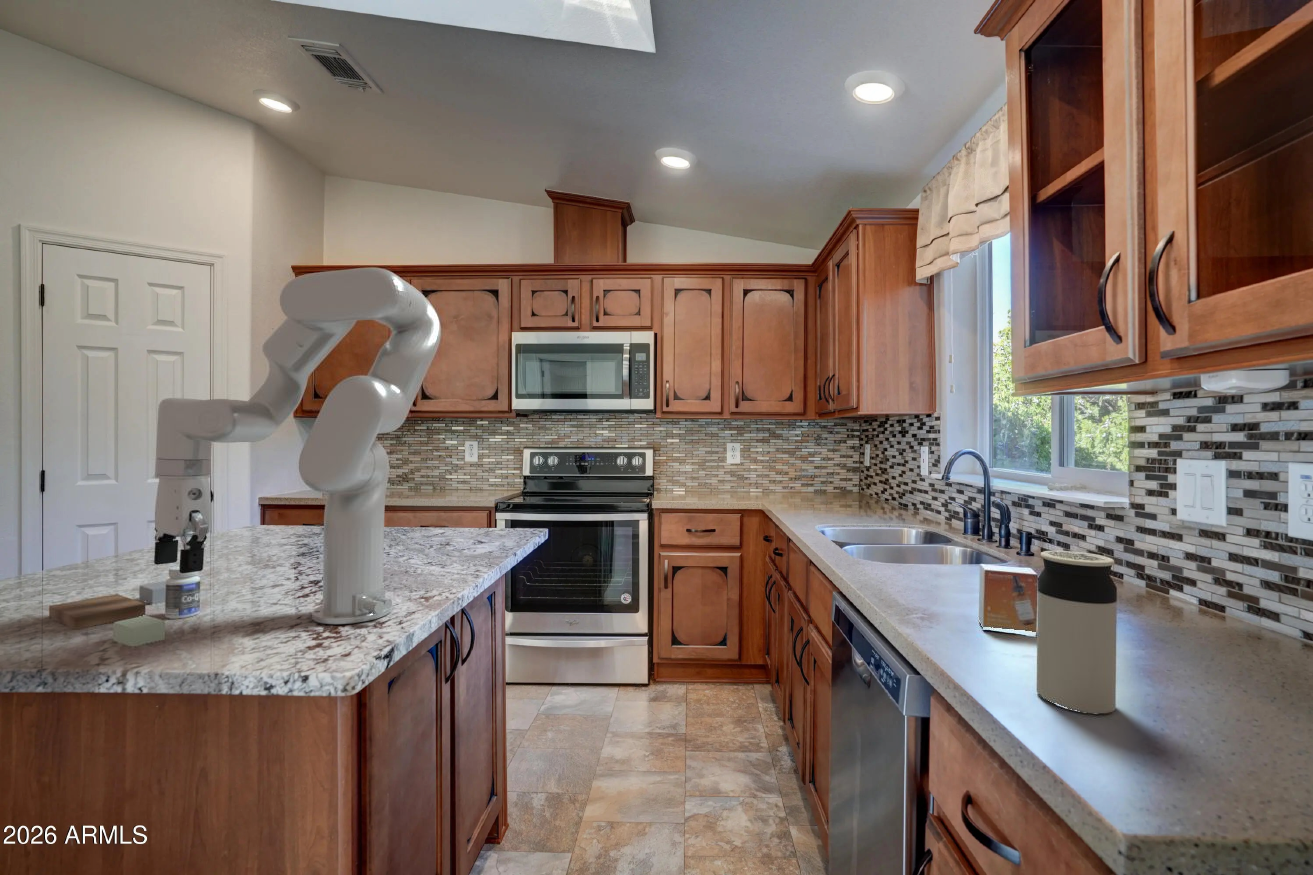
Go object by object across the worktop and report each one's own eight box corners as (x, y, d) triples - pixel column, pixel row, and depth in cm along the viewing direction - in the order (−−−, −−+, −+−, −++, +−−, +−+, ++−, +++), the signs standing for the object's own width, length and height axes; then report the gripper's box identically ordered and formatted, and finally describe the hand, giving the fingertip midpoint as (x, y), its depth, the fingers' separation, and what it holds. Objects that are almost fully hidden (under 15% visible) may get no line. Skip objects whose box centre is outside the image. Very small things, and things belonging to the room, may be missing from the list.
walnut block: (145, 615, 102) (145, 603, 102) (74, 629, 94) (75, 617, 94) (117, 604, 108) (117, 593, 108) (49, 617, 100) (49, 605, 100)
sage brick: (165, 640, 91) (165, 621, 91) (132, 648, 87) (132, 628, 87) (145, 634, 93) (145, 615, 93) (113, 641, 90) (113, 622, 90)
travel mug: (1089, 721, 68) (1091, 564, 68) (1022, 693, 75) (1023, 552, 75) (1130, 709, 71) (1132, 559, 71) (1062, 683, 78) (1063, 548, 78)
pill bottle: (184, 619, 100) (185, 570, 100) (157, 619, 100) (158, 569, 100) (206, 611, 105) (207, 564, 105) (180, 610, 105) (181, 563, 105)
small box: (982, 631, 100) (983, 569, 100) (978, 622, 105) (978, 562, 105) (1037, 638, 97) (1038, 573, 97) (1030, 628, 102) (1031, 567, 102)
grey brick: (178, 601, 112) (178, 585, 112) (152, 606, 109) (152, 589, 109) (165, 596, 115) (165, 581, 115) (139, 601, 112) (139, 585, 112)
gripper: (232, 472, 102) (227, 571, 102) (186, 465, 110) (181, 557, 110) (180, 473, 95) (174, 579, 95) (135, 466, 104) (130, 563, 104)
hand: (178, 567), depth 103 cm, fingers open, 9 cm apart
